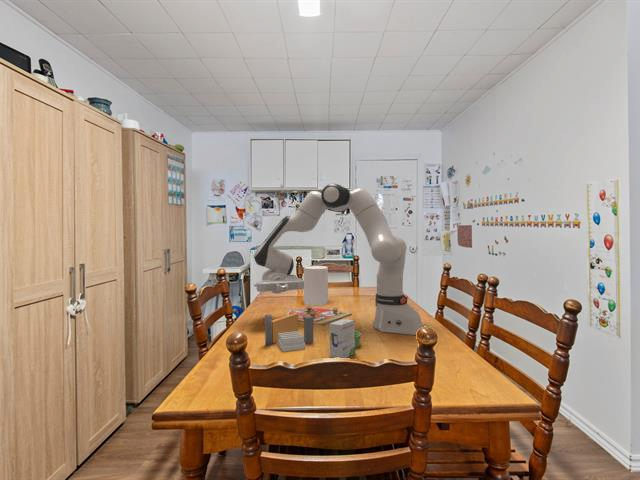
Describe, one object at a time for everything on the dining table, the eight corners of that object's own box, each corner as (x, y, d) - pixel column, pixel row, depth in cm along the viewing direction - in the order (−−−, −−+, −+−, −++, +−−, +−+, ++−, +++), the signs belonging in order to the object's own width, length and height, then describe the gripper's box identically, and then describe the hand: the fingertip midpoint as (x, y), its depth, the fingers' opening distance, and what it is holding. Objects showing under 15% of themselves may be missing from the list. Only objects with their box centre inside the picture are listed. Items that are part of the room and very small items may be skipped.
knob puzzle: (318, 328, 161) (318, 318, 161) (269, 318, 179) (269, 309, 178) (354, 315, 184) (354, 306, 184) (307, 306, 202) (307, 298, 202)
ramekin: (355, 350, 132) (355, 338, 132) (332, 346, 137) (332, 335, 136) (364, 343, 140) (364, 332, 140) (343, 339, 144) (342, 328, 144)
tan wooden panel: (273, 343, 136) (273, 321, 136) (270, 342, 137) (269, 321, 137) (297, 333, 148) (297, 313, 147) (294, 333, 149) (294, 313, 148)
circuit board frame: (306, 334, 151) (306, 305, 150) (323, 350, 132) (323, 317, 131) (256, 340, 144) (256, 309, 143) (267, 358, 125) (267, 323, 125)
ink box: (341, 361, 122) (341, 325, 122) (328, 357, 126) (328, 322, 125) (356, 353, 129) (355, 320, 128) (343, 350, 132) (343, 317, 132)
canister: (322, 299, 218) (322, 265, 217) (331, 304, 205) (331, 268, 204) (300, 301, 213) (300, 266, 212) (308, 306, 201) (308, 269, 200)
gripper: (253, 276, 161) (258, 282, 148) (298, 274, 168) (308, 279, 155) (253, 291, 161) (258, 297, 148) (298, 288, 168) (308, 294, 155)
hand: (284, 288), depth 152 cm, fingers closed
